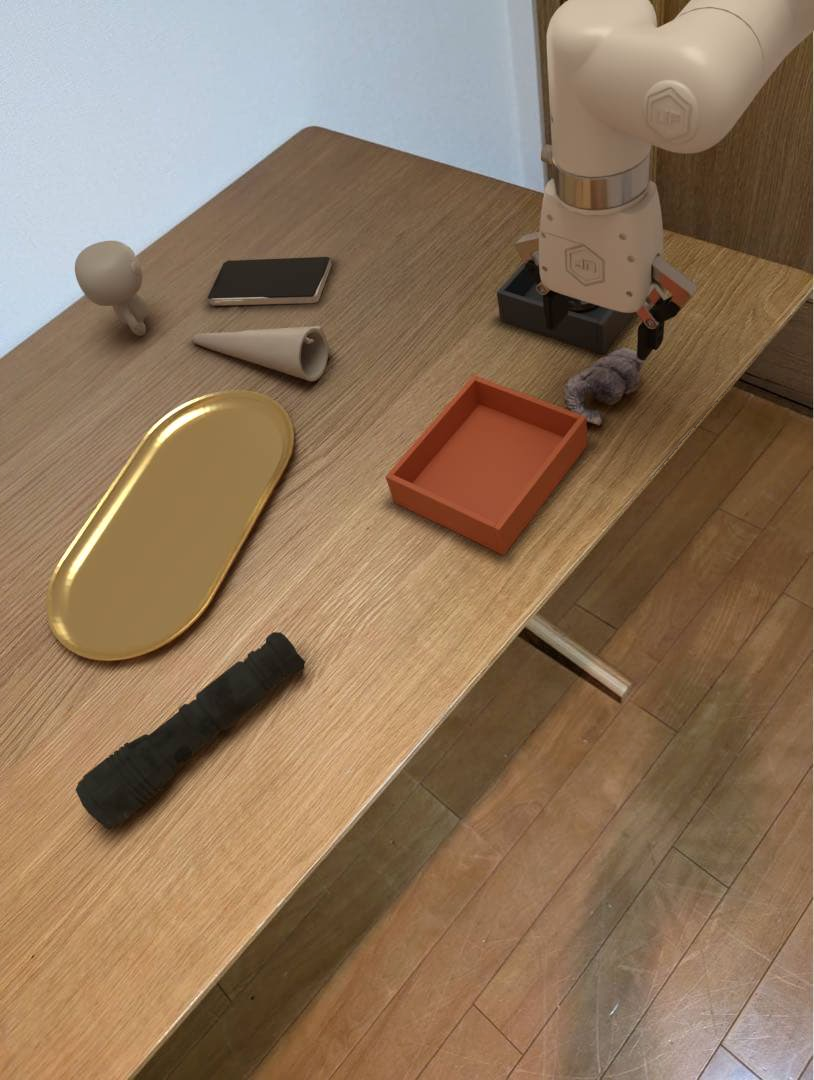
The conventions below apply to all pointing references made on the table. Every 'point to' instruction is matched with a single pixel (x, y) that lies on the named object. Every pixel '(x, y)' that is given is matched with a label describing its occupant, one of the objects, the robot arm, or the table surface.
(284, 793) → the table surface
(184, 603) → the serving platter
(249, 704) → the flashlight
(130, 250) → the figurine
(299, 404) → the table surface
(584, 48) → the robot arm
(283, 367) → the long tapered cone
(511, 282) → the slate bin
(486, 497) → the terracotta bin
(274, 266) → the smartphone
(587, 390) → the grey curved ribbed piece
